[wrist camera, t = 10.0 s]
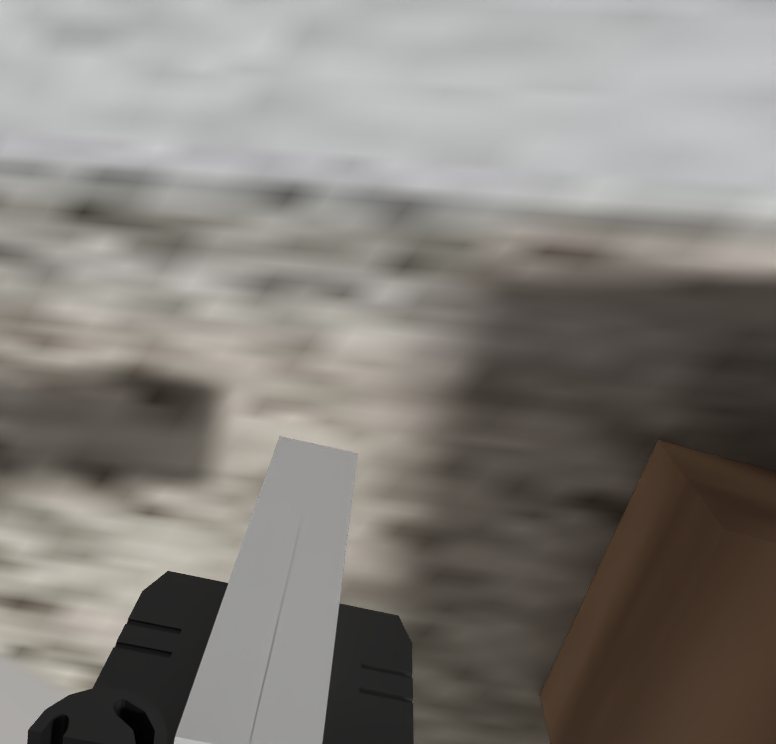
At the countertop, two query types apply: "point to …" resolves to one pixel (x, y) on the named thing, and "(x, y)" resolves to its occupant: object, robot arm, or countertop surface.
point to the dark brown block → (677, 614)
